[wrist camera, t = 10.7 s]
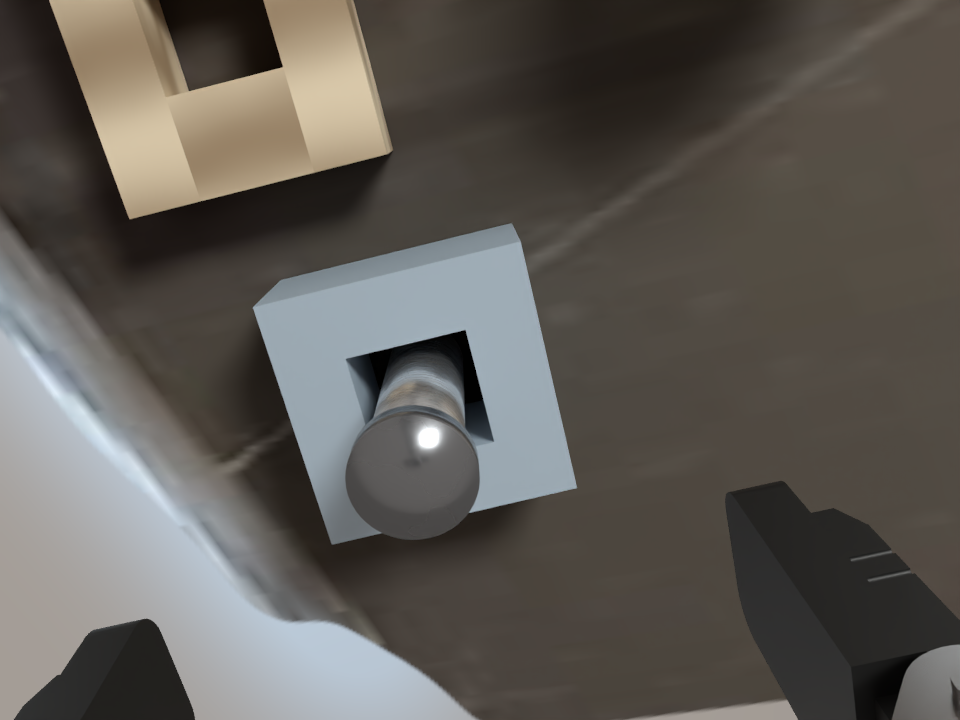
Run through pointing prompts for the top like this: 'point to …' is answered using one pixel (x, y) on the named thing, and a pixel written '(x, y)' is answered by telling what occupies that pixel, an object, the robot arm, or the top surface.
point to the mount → (222, 102)
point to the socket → (406, 319)
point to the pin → (416, 446)
